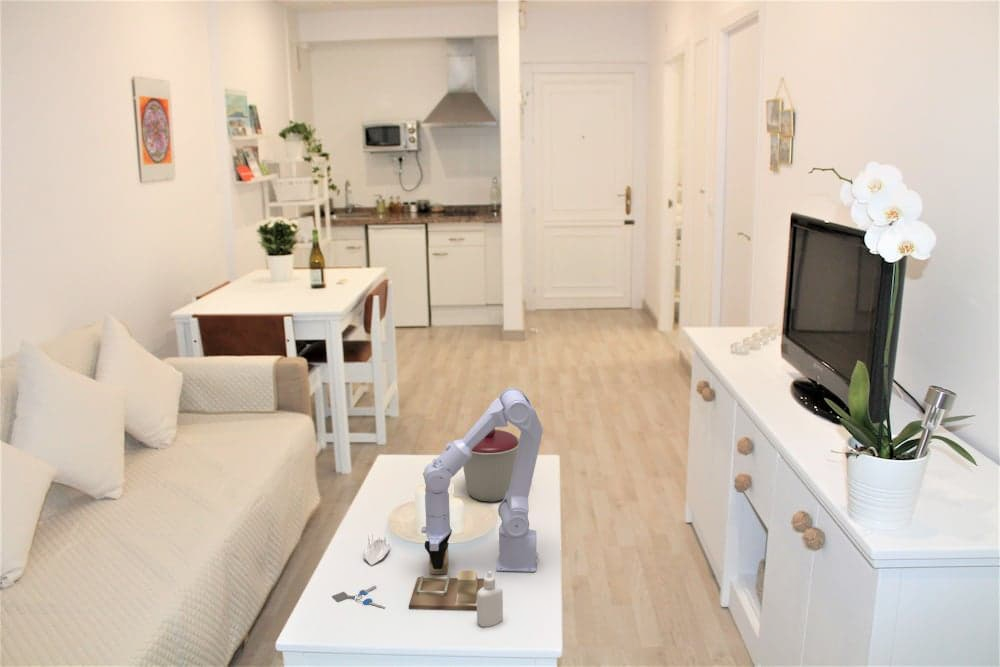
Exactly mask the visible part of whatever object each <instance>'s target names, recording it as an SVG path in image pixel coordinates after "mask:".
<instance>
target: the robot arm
mask: <svg viewBox="0 0 1000 667" xmlns="http://www.w3.org/2000/svg"><path fill="white" fill-rule="evenodd" d="M508 422H509V423H510V424H511V425H513V426H515V427H517V429H518V430H519V431H520V434H519V443H518V448H517V453H516V457H515V462H514V467H513V471H512V476H511V481H510V485H509V490H508V491H507V492H506V493H505V497H504V499H502V500H501V502H500V503H499V506H498V508H497V513H498V516H499V518H500V521H501V522H500V523H501V524H500V526H499V528H498V552H499V553H498V557H497V564H496V571H497V572H517V573H518V572H519V573H521V572H524V573H525V572H526V573H533V572H534V573H535V572H536V571H537V560H538V556H539V554H538V552H537V530H534V529H530V521H529V517H528V516H529V510H530V508H529V496H530V490H531V486H532V482H533V477H534V472H535V469H536V464H537V460H538V456H539V455H538V454H539V450H540V445H541V441H542V435H543V429H544V428H543V425H542V423H541V420H540V419H539V416H538V414H537V411H536V409H535V407H534V406H533V405H532V403H531V401H530V399H529V398H528V397H527V395H526V394H525V393H524V392H522V390H520V389H519V388H515V387H510V388H506V389H505V390H504V391H502V392H501V394H500V396H499V397H498V396H497V397H496V398H495V399H494V400H493V401H492V403H491V404H490V406H488V408H487V410H486V411H485V412H484V413H483V414H482V415H481V417H480V418H479V419H478V420H477V421H476V422H475V423H474V425H473V426H472V427H471V428H470V430H468V432H467V433H466V434H465V435H464V436H465V437H464V436H463V437H464V438H463V439H461V438H460V439H461V440H460V439H454V440H453V441H452V442H448V443H447V444H446V445H445V449H444V450H443V451H442V453H440V454H439V456H437V458H434V459H433V460H432V462H430V463H429V464H428V465H426V466H425V467H424V471H423V473H422V475H423V478H424V483H425V488H424V490H425V494H424V503H425V504H424V508H425V526H422V527H421V532H420V533H421V534H425V535H426V538H427V539H428V540H426V541H425V542H424V549H425V550H426V551H427V554H428V555H430V557H429V559H430V558H431V562H432V566H433V568H434V569H442V567H443V562H444V555H445V551H446V549H447V547H448V548H449V539H450V538H451V535H452V532H453V531H452V528H451V527H452V526H451V519H450V518H451V516H450V512H451V511H450V493H449V487H450V486H451V479H452V478H453V477H454V476H456V474H457V473H458V472H459V471H460V470H461V469H462V468H463V466H464V465H465V464H466V463H467V461H468V460H469V459H470V458H471V457H472V449H473V448H474V447H475V446H476V445H477V444H478V443H479V442H480V441H481V440H482V439H483V438H484V437H485V436H487V435H488V434H489V433H490V432H491V431H492V430H493V429H494V428H504V427H505V428H507V427H509V425H508Z"/></svg>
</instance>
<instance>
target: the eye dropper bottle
mask: <svg viewBox="0 0 1000 667" xmlns="http://www.w3.org/2000/svg"><path fill="white" fill-rule="evenodd" d="M483 579H484V587H482V588H481V589H480V590H479V591H478V592H477V611H476V622H477V623H478V625H479V626H480V627H482V628H487V627H493V626H495V625H498V624H499V623H501V622H502V621H503V620H504V619H503V618H504V602H503V601H504V600H503V597H504V596H503V588H501V587H500V586H499V585H498V584H496V578H495V575H492V571H489V570H488V571H487V573H486V575H485V576H484V577H483Z"/></svg>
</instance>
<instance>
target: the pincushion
mask: <svg viewBox="0 0 1000 667" xmlns="http://www.w3.org/2000/svg"><path fill="white" fill-rule="evenodd" d="M371 537H372V540H371V541H370V538H369V536H368V544H367V545H366V546H365V549H364V552H363V554H364V555H363V557H364V559H365V560H366V562H368V564H369V566H370V565H371V566H373V565H374V564H376V563H378V562H379V561H381V560H383V559H384V558H385V556H386V555H387V553H389V550H390V548H391V544H390V543H389V541H387V539H386V538H383V539H382V538H378V539H376V540H374V538H373V534H371Z"/></svg>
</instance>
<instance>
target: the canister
mask: <svg viewBox="0 0 1000 667" xmlns="http://www.w3.org/2000/svg"><path fill="white" fill-rule="evenodd" d="M495 428H496V427H495ZM495 428H494V429H493V430H492V431H491V432H490V433H489V434H488V435H487V436H485V437H484V438H483V439H482V440H481V441H480V442H479V443H478V444H477V445H476V446H475V447H474V448H473V449H472V457H471V458H470V459H469V460H468V461H467V463H466V464H465V465H464V466H463V467H462V468H463V473H464V479H465V485H466V486H465V487H466V490H467V492H468V494H469V495H470V496H471V497H472V498H473V499H476V500H477V499H478V500H477V501H481V502H489V503H490V502H497V501H503V500H504V497H505V493H506V492H507V491H508V490H509V485H510V481H511V476H512V471H513V467H514V462H515V457H516V453H517V448H518V443H519V439H520V437H518V436H517V435H514V434H513V433H511V432H508V431H505V430H501V429H495ZM464 437H465V435H464V436H462V437H461V438H460V439H459V440H461V439H463V438H464Z"/></svg>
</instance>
